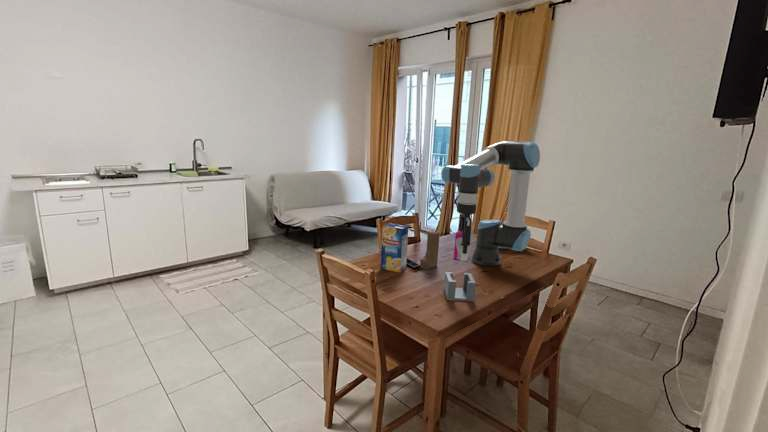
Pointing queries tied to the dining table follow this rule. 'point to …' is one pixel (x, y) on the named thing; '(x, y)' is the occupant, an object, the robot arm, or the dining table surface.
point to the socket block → (460, 293)
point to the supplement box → (458, 247)
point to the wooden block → (431, 251)
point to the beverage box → (394, 247)
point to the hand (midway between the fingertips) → (461, 257)
